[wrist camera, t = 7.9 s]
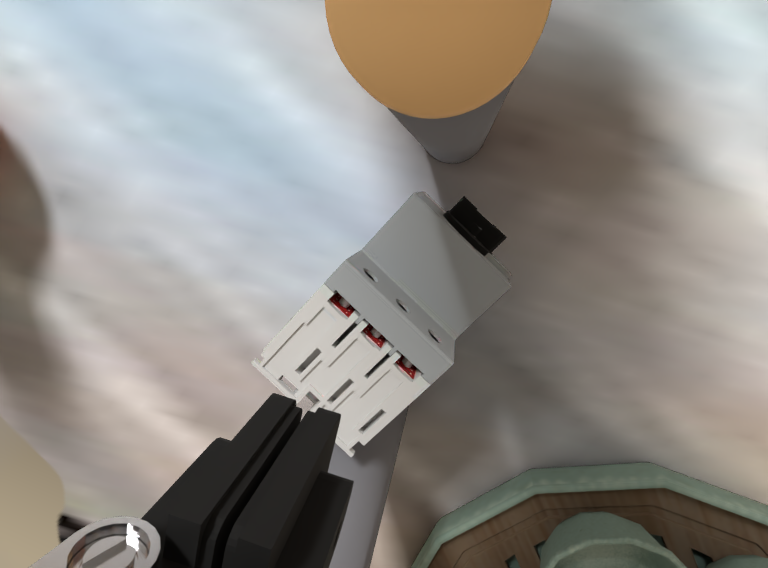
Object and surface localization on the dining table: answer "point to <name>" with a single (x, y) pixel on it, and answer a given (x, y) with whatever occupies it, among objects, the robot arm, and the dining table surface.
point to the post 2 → (438, 62)
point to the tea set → (601, 523)
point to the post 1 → (365, 492)
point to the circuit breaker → (389, 317)
